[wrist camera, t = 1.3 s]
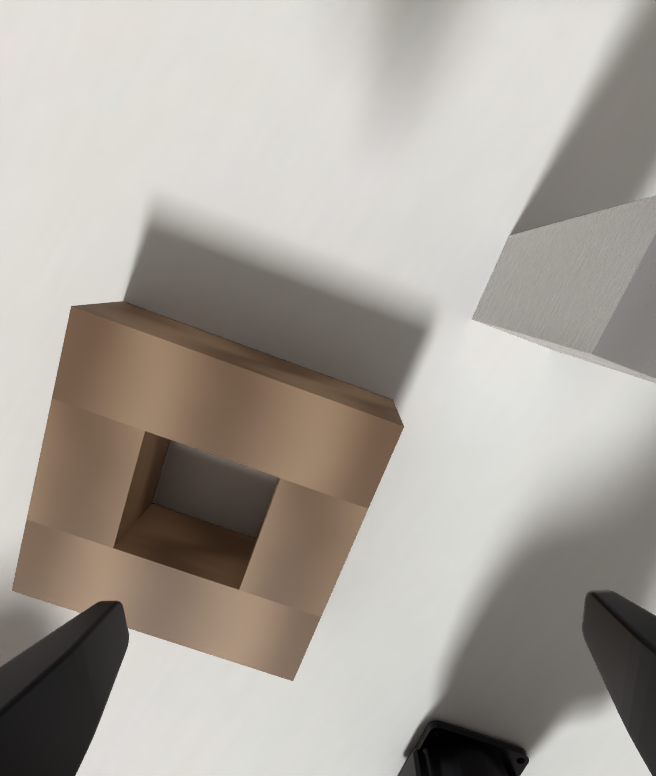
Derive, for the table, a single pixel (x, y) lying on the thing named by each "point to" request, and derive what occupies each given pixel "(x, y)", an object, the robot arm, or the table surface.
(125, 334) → the walnut socket block
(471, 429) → the table surface
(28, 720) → the robot arm
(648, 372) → the grey metal peg
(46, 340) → the table surface
